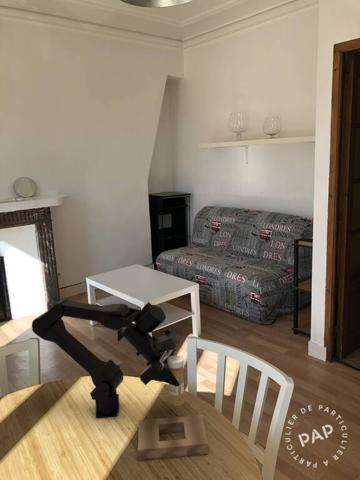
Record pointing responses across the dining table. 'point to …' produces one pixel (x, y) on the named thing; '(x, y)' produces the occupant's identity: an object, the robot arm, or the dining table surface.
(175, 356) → the sprinkles bottle
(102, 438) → the dining table surface
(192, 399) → the dining table surface
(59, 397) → the dining table surface
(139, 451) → the socket block
